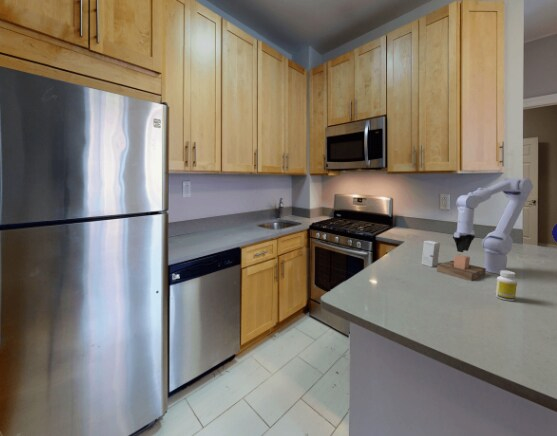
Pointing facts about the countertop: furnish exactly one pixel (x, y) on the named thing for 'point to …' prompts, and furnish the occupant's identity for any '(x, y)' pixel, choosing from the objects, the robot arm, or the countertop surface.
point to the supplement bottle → (506, 286)
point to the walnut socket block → (461, 271)
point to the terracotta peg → (461, 261)
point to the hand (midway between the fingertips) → (462, 251)
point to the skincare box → (430, 253)
